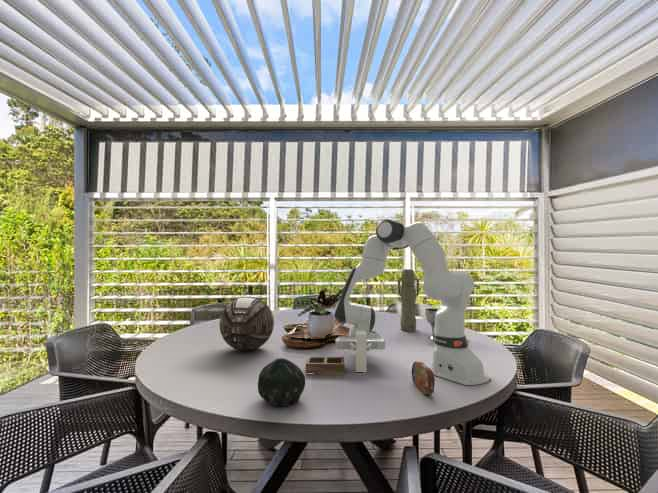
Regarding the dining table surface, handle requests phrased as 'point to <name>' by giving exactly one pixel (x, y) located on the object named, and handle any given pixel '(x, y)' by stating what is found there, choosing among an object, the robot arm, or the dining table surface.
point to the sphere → (246, 323)
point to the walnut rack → (325, 365)
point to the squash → (281, 382)
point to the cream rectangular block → (361, 351)
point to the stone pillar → (408, 300)
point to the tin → (423, 378)
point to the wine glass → (431, 320)
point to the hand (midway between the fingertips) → (361, 348)
